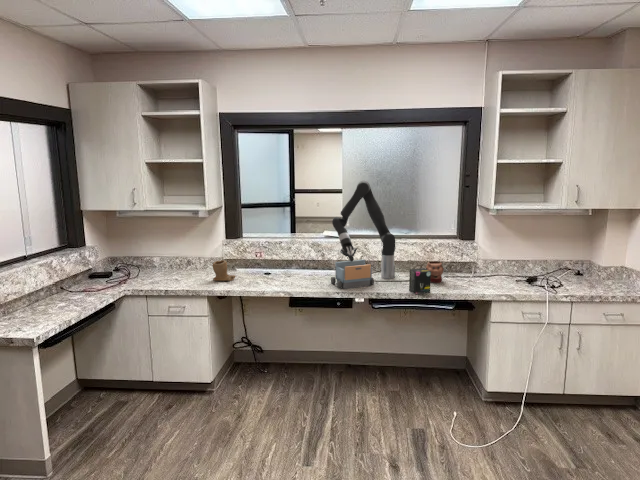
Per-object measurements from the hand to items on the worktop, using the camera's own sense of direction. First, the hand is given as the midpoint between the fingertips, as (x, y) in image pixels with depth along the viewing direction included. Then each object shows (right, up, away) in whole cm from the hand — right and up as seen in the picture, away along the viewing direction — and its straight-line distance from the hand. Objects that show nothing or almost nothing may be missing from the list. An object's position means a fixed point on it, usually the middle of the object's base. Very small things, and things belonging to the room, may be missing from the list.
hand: (352, 260), depth 289 cm
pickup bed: (0, -17, +3) cm, 17 cm away
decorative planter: (+59, -15, +9) cm, 62 cm away
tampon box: (+43, -20, -17) cm, 50 cm away
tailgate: (+3, -12, -7) cm, 14 cm away
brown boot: (-93, -16, +16) cm, 96 cm away
